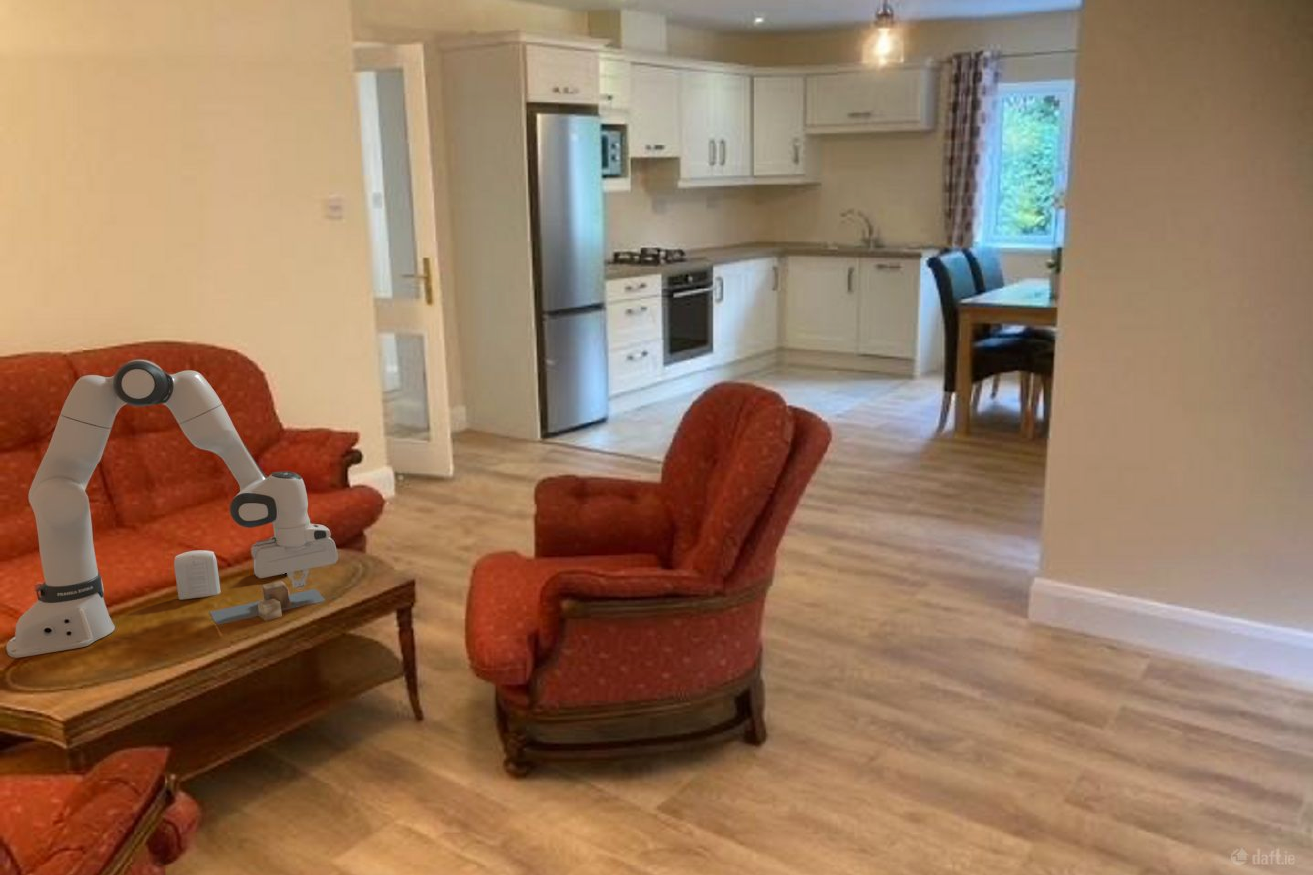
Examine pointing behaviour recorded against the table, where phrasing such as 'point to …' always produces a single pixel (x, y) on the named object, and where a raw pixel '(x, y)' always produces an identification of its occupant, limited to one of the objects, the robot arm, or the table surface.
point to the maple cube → (269, 609)
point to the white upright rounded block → (196, 574)
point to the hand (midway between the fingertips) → (299, 586)
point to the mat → (253, 611)
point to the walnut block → (277, 593)
